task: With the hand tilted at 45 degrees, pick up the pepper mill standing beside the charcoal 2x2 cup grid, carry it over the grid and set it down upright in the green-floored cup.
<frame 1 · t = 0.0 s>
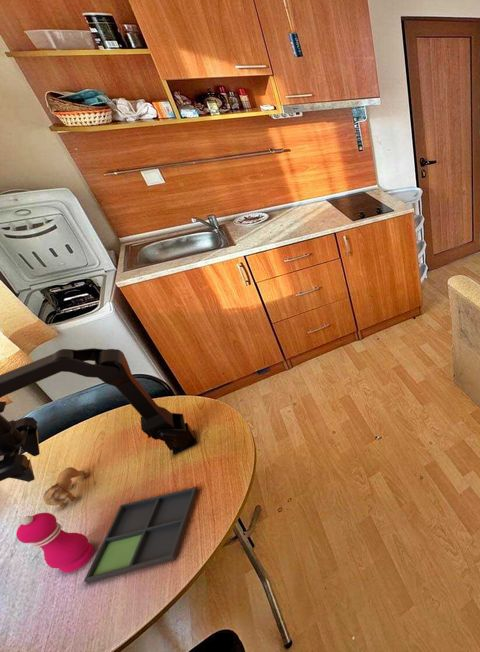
hand: (34, 467, 97), 15 cm above the table, tool pointing down, fingers open, 9 cm apart
lion figurine: (75, 494, 106), on the table
pepper mill: (78, 558, 93), on the table
grid: (148, 532, 97), on the table
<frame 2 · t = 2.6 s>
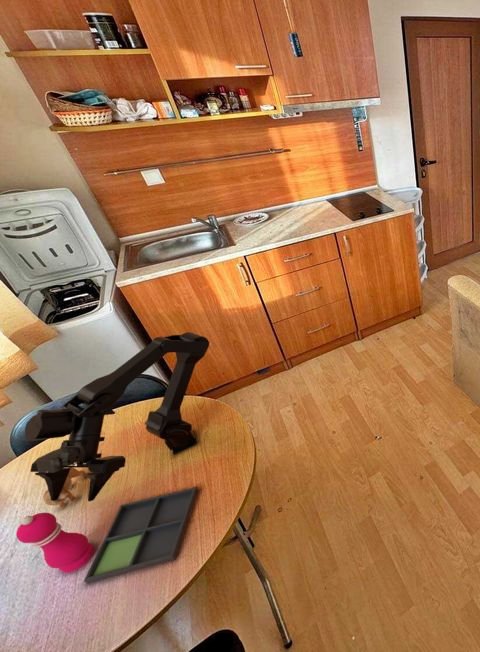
hand: (72, 500, 91), 13 cm above the table, tool tilted 45°, fingers open, 9 cm apart
nothing on the table moved.
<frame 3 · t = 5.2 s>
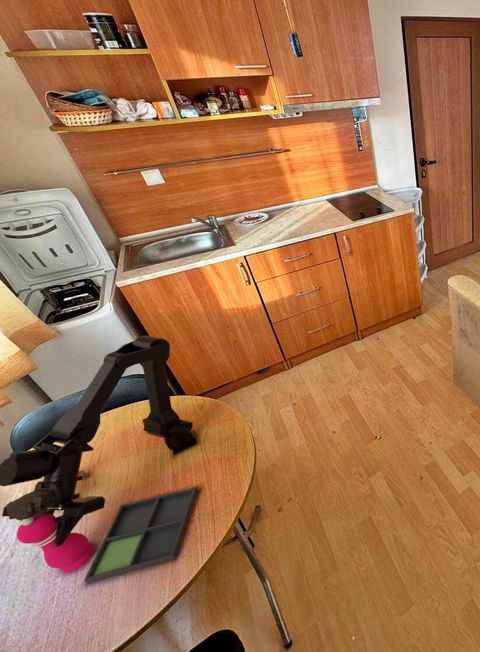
hand: (47, 546, 86), 10 cm above the table, tool tilted 45°, fingers closed on pepper mill, 5 cm apart
pepper mill: (78, 558, 93), on the table, touching gripper
everything else where it was.
when the fingers open (11 cm above the table, at t = 9.5 s): pepper mill stays where it is, resting on grid.
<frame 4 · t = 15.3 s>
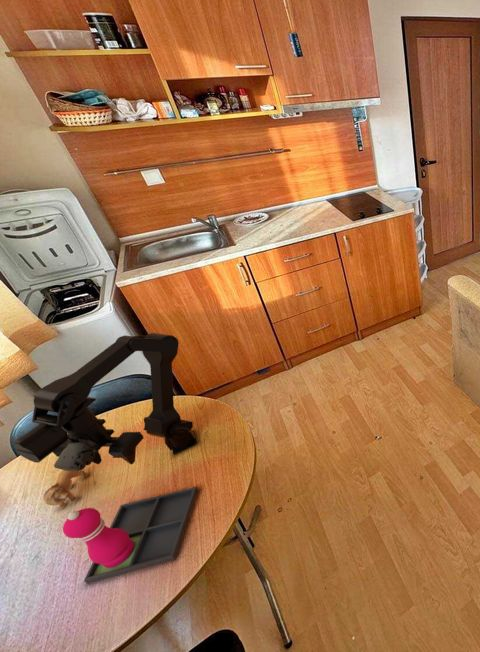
hand: (116, 462, 100), 13 cm above the table, tool pointing down, fingers open, 9 cm apart
pepper mill: (119, 554, 93), resting on grid
everything else where it was.
at the end: pepper mill 0.4 cm from the target spot in the grid, point 0.3 cm above the grid's base; pepper mill tilted 0°; the gripper is holding nothing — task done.
